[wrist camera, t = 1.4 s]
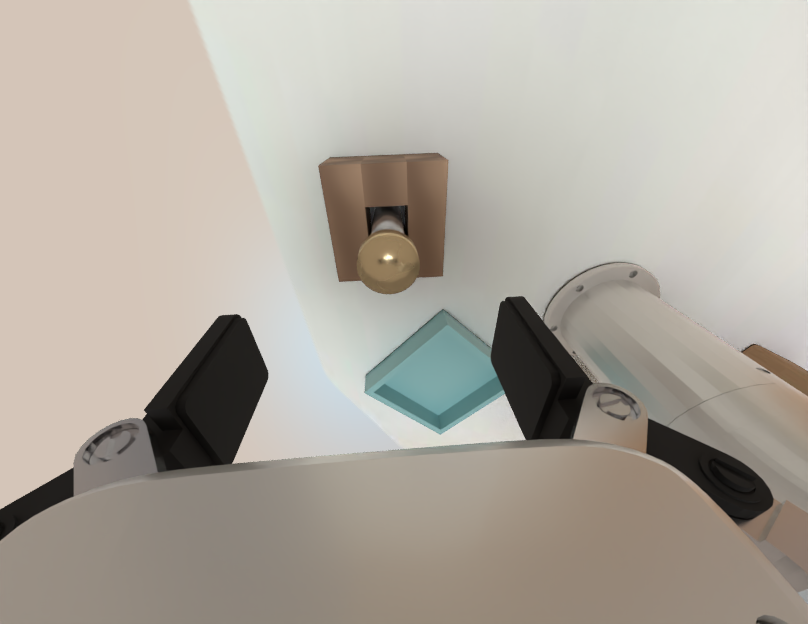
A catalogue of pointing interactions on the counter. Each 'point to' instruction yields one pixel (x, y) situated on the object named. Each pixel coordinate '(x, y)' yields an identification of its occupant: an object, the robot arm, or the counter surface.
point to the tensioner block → (386, 204)
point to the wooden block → (779, 367)
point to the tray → (437, 375)
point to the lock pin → (388, 254)
